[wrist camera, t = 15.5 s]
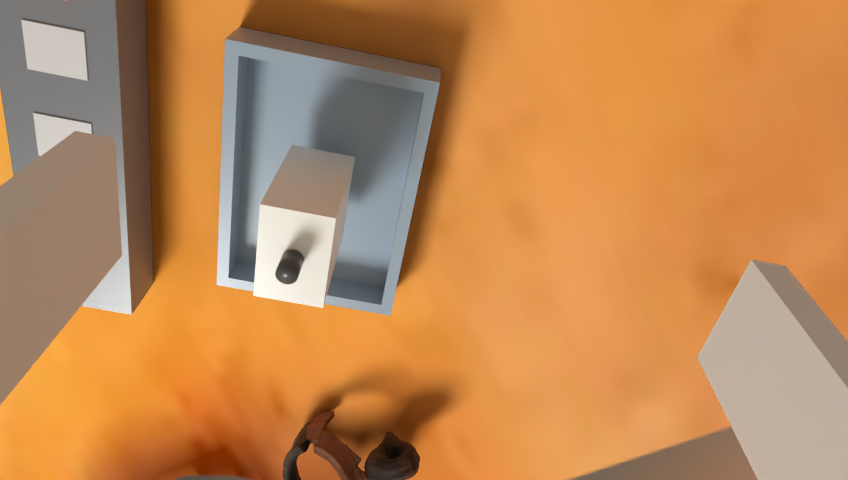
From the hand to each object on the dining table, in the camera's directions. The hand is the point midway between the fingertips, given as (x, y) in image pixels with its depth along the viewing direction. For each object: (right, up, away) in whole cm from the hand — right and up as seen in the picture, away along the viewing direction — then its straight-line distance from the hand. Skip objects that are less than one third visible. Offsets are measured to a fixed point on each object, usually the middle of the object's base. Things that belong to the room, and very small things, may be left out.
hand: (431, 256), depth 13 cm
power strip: (-21, +11, +28) cm, 37 cm away
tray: (-7, +5, +31) cm, 32 cm away
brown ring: (-6, -18, +45) cm, 48 cm away
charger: (-7, +4, +30) cm, 31 cm away
